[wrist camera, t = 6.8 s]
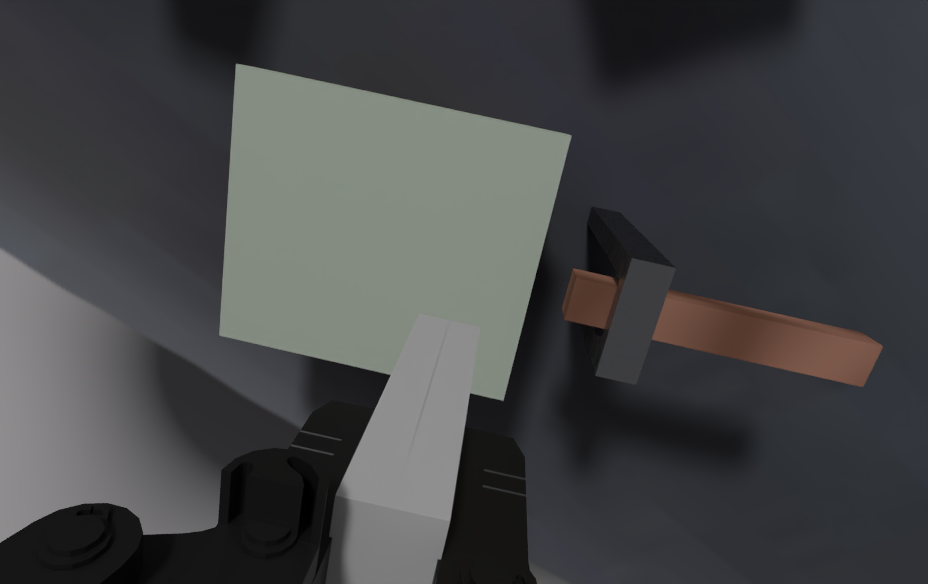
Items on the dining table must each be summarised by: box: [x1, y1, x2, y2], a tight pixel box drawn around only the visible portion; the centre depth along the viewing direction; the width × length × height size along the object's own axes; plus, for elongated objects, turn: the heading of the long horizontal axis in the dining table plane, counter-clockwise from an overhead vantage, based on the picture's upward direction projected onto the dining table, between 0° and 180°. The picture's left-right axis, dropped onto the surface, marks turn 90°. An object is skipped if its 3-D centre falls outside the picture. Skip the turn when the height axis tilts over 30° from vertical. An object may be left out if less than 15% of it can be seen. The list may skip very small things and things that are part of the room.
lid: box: [219, 64, 571, 401], centre depth 25 cm, size 14×12×3 cm
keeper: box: [581, 207, 676, 385], centre depth 26 cm, size 2×5×12 cm, turn 169°
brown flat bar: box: [562, 268, 883, 387], centre depth 22 cm, size 12×2×1 cm, turn 79°
